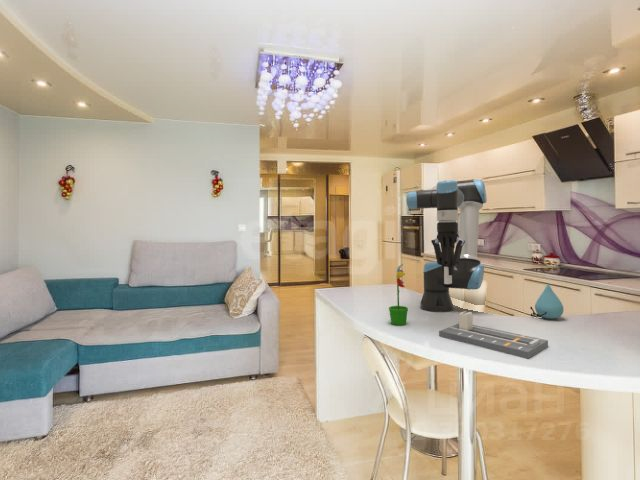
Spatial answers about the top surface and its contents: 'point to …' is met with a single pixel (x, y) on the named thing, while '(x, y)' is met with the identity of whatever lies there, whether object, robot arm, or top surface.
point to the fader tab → (466, 320)
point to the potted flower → (398, 312)
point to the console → (496, 340)
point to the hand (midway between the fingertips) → (448, 283)
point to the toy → (548, 305)
